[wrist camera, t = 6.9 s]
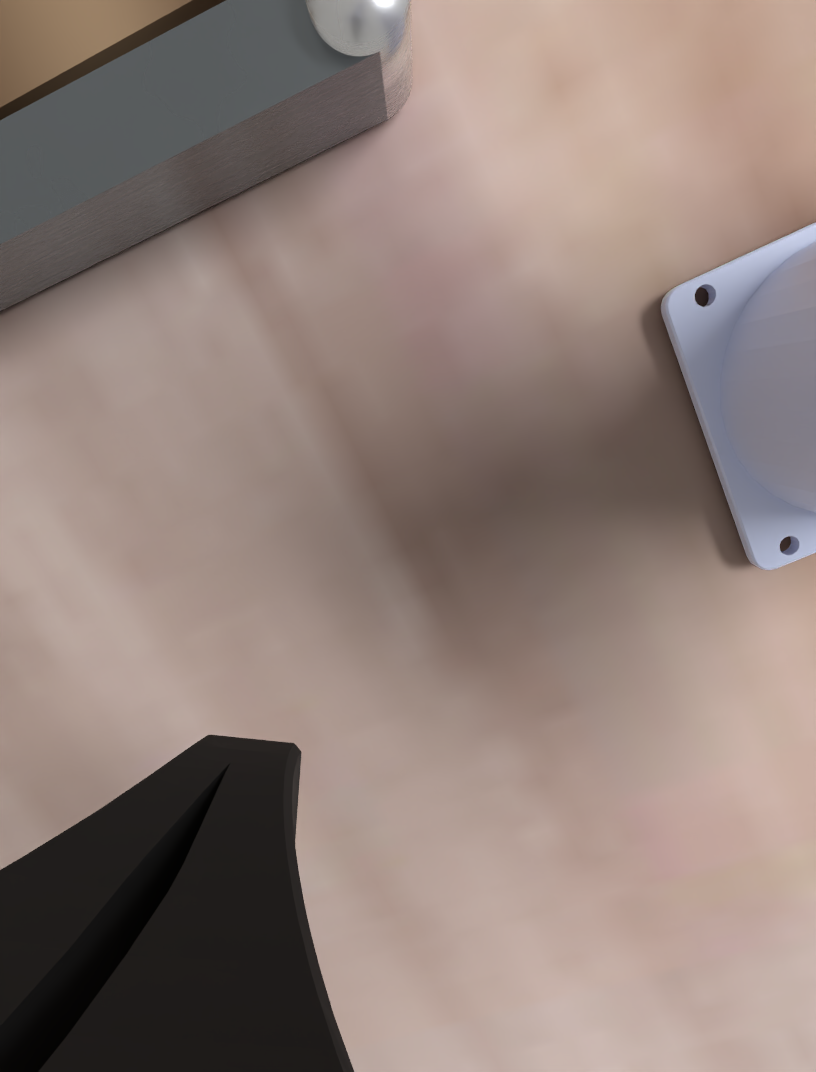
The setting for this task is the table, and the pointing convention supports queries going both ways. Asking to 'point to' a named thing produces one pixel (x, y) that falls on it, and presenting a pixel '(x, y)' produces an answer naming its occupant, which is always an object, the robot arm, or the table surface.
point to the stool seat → (75, 40)
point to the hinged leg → (190, 126)
